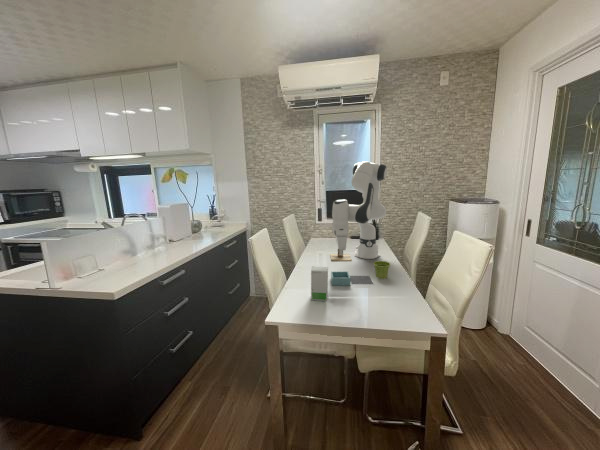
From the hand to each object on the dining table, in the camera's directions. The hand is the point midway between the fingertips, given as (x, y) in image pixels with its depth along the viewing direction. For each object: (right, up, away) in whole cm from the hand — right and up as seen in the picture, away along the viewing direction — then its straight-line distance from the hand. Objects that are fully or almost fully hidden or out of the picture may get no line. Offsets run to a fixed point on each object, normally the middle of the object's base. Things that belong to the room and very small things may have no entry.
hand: (340, 253), depth 140 cm
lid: (0, -3, 0) cm, 3 cm away
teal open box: (0, -17, +3) cm, 17 cm away
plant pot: (+26, -15, +9) cm, 31 cm away
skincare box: (-13, -21, -14) cm, 28 cm away
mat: (+13, -16, +5) cm, 21 cm away
